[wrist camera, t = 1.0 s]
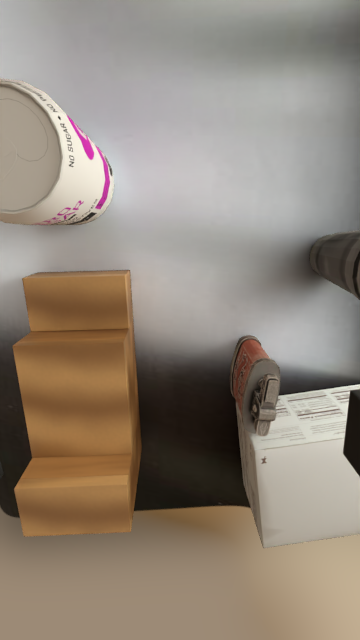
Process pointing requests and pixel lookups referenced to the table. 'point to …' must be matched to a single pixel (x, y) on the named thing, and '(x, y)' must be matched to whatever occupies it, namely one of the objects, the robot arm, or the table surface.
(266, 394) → the lighter
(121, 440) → the step shelf
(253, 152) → the table surface
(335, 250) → the beverage cup
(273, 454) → the supplement box
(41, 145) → the supplement can
